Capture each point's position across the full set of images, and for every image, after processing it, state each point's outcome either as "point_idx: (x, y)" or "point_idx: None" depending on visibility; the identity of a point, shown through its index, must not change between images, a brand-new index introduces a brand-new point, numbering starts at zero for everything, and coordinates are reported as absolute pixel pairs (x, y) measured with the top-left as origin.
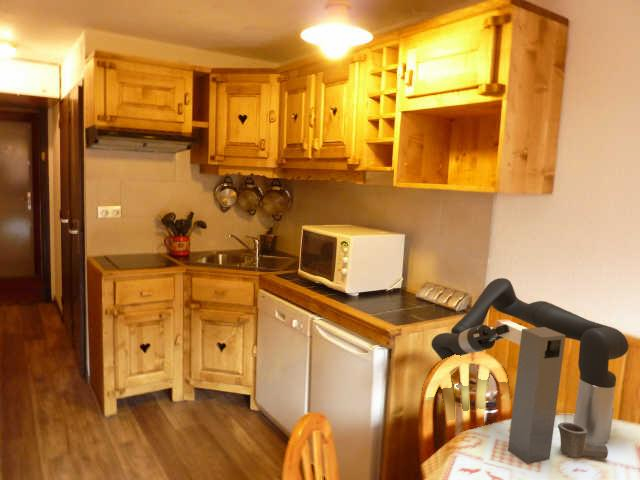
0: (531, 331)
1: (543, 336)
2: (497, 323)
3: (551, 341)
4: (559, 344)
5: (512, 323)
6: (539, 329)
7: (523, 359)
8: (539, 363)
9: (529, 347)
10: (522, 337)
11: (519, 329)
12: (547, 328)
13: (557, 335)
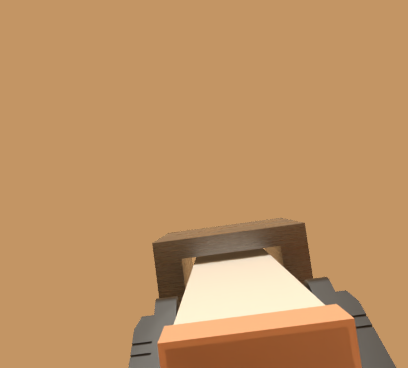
0: (278, 223)
1: (270, 219)
2: (350, 346)
3: (190, 274)
4: (192, 266)
5: (217, 304)
6: (215, 232)
7: None
8: None
9: None
10: (308, 263)
11: (268, 266)
12: (160, 240)
13: (203, 228)
